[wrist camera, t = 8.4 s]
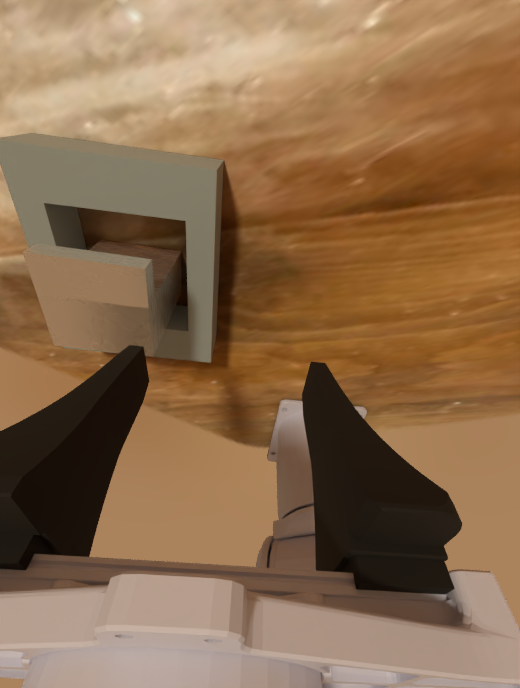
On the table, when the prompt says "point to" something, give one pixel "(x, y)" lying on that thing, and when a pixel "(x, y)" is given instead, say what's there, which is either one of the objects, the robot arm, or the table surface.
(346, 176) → the table surface
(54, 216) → the well block
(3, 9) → the table surface
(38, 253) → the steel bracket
